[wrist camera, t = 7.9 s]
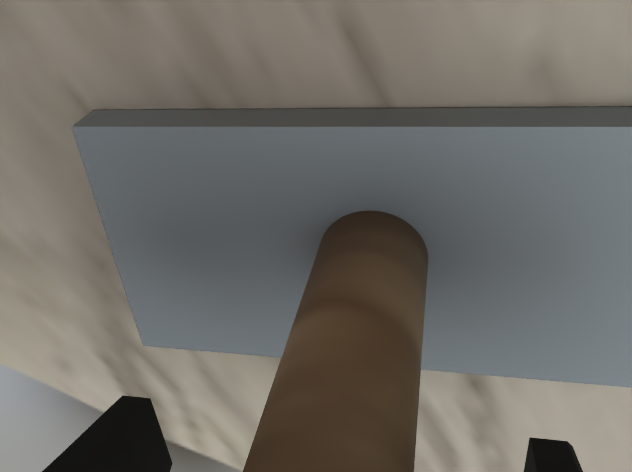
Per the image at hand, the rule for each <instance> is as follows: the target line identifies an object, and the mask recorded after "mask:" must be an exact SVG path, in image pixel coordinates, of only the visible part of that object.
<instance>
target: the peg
mask: <svg viewBox="0 0 632 472" xmlns="http://www.w3.org/2000/svg"><path fill="white" fill-rule="evenodd" d="M427 271H428V252H427V248H426V245H425V243H424V241H423V239H422V237H421V236H420V234H419V233H418V232H417V230H415V229H414V228H413V227H412V226H411V225H410V224H409V223H407V222H406V221H404V220H403V219H401V218H399V217H397V216H394V215H392V214H389V213H385V212H380V211H359V212H354V213H351V214H348V215H345V216H343V217H341V218H340V219H338V220H336V221H335V222H334V223H333V224H332V225H331V226H330V227H329V228H328V229H327V230H326V232H325V233H324V235H323V237H322V240H321V243H320V246H319V249H318V252H317V255H316V258H315V261H314V264H313V266H312V269H311V272H310V275H309V278H308V281H307V284H306V287H305V290H304V293H303V296H302V299H301V302H300V305H299V308H298V311H297V314H296V317H295V320H294V322H293V325H292V328H291V331H290V334H289V337H288V340H287V343H286V346H285V349H284V352H283V355H282V358H281V361H280V364H279V367H278V370H277V373H276V376H275V378H274V381H273V384H272V387H271V390H270V393H269V396H268V399H267V402H266V405H265V408H264V411H263V414H262V417H261V420H260V423H259V426H258V429H257V432H256V434H255V437H254V440H253V443H252V446H251V449H250V452H249V455H248V458H247V461H246V464H245V467H244V470H243V472H414V459H415V445H416V430H417V416H418V401H419V387H420V372H421V358H422V343H423V329H424V315H425V300H426V286H427Z"/></svg>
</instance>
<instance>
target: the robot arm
mask: <svg viewBox="0 0 632 472" xmlns="http://www.w3.org/2000/svg"><path fill="white" fill-rule="evenodd" d="M171 466H172V461H171V458H170V455H169V452H168V449H167V446H166V443H165V440H164V437H163V434H162V431H161V428H160V425H159V423H158V420H157V417H156V414H155V411H154V408H153V405H152V402H151V399H150V398H141V397H131V396H122V397H121V398H120V399H119V400H118V401H116V402H115V403H114V404H113V405H112V406H111V407H110V408H109V409H108V410H107V411H106V412H105V413H104V414H103V415H101V416H100V417H99V418H98V419H97V420H96V421H95V422H94V423H93V424H92V425H91V426H90V427H89V428H88V429H87V430H86V431H85V432H84V433H83V434H82V435H81V436H80V437H79V438H78V439H76V440H75V441H74V442H73V443H72V444H71V445H70V446H69V447H68V448H67V449H66V450H65V451H64V452H63V453H62V454H61V455H60V456H58V457H57V458H56V459H55V460H54V461H53V462H52V463H51V464H50V465H49V466H48V467H47V468H46V469H44V471H42V472H170V469H171ZM524 472H583V471H582V468H581V466H580V464H579V461H578V459H577V456H576V454H575V451H574V449H573V446H571V445H570V444H569V443H568V442H567V441H558V440H548V439H538V438H530V439H529V445H528V451H527V456H526V462H525V468H524Z"/></svg>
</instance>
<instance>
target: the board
mask: <svg viewBox="0 0 632 472" xmlns="http://www.w3.org/2000/svg"><path fill="white" fill-rule="evenodd" d="M72 130H73V133H74V136H75V139H76V142H77V145H78V148H79V151H80V154H81V157H82V160H83V163H84V166H85V169H86V173H87V176H88V179H89V182H90V185H91V188H92V191H93V194H94V197H95V200H96V203H97V206H98V209H99V212H100V215H101V218H102V221H103V225H104V228H105V231H106V234H107V237H108V240H109V243H110V246H111V249H112V252H113V255H114V258H115V261H116V264H117V267H118V270H119V274H120V277H121V280H122V283H123V286H124V289H125V292H126V295H127V298H128V301H129V304H130V307H131V310H132V313H133V316H134V319H135V322H136V326H137V329H138V332H139V335H140V338H141V341H142V344H143V346H153V347H165V348H176V349H188V350H200V351H211V352H223V353H235V354H246V355H258V356H270V357H281V358H282V355H283V352H284V349H285V346H286V343H287V340H288V337H289V334H290V331H291V328H292V325H293V322H294V320H295V317H296V314H297V311H298V308H299V305H300V302H301V299H302V296H303V293H304V290H305V287H306V284H307V281H308V278H309V275H310V272H311V269H312V266H313V264H314V261H315V258H316V255H317V252H318V249H319V246H320V243H321V240H322V237H323V235H324V233H325V232H326V230H327V229H328V228H329V227H330V226H331V225H332V224H333V223H334V222H335V221H336V220H338V219H340V218H341V217H343V216H345V215H348V214H351V213H354V212H359V211H380V212H385V213H389V214H392V215H394V216H397V217H399V218H401V219H403V220H404V221H406V222H407V223H409V224H410V225H411V226H412V227H413V228H414V229H415V230H417V232H418V233H419V234H420V236H421V237H422V239H423V241H424V243H425V245H426V248H427V252H428V271H427V286H426V300H425V315H424V329H423V343H422V358H421V369H422V370H433V371H445V372H457V373H469V374H480V375H492V376H504V377H515V378H527V379H539V380H550V381H562V382H574V383H585V384H597V385H609V386H621V387H632V107H517V108H356V109H194V110H93V111H92V112H91V113H89V114H88V115H87V116H85V117H84V118H83V119H81V120H80V121H79V122H77V123H76V124H74V125H73V126H72Z"/></svg>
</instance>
